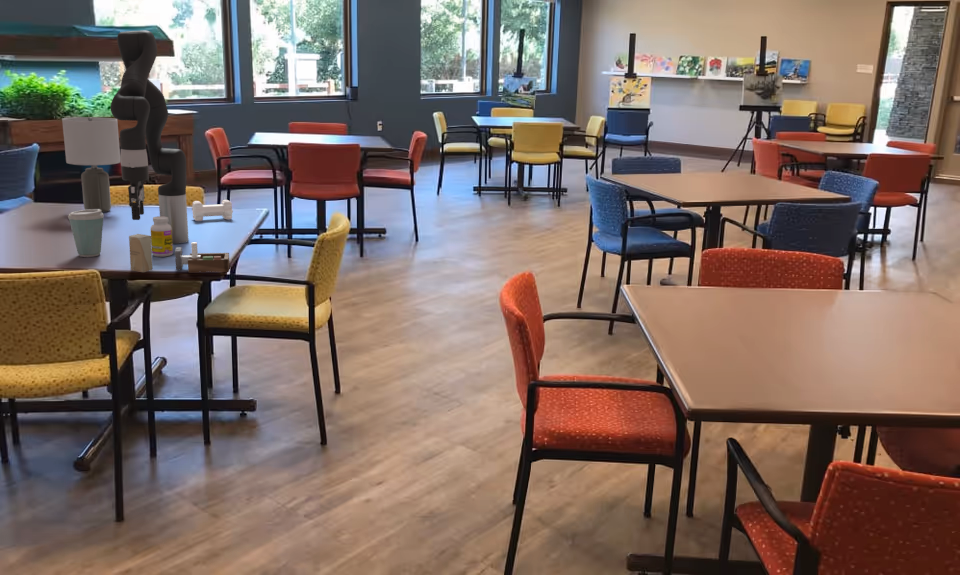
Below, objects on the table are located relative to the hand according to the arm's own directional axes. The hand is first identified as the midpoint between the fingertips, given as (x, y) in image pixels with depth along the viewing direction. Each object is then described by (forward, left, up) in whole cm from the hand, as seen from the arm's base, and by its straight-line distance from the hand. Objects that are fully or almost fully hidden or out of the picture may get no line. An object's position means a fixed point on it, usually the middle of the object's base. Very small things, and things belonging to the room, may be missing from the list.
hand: (138, 217), depth 245 cm
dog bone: (-82, +17, -17) cm, 86 cm away
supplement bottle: (-20, +4, -17) cm, 27 cm away
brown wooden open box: (0, +20, -17) cm, 26 cm away
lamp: (-102, -30, -17) cm, 108 cm away
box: (0, 0, -17) cm, 17 cm away
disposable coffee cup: (-22, -19, -17) cm, 34 cm away
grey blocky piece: (0, +14, -16) cm, 21 cm away
